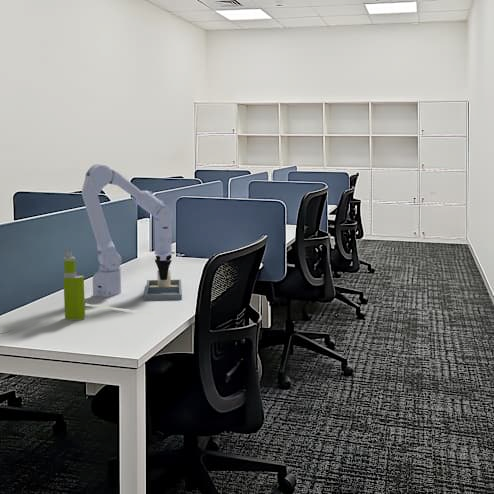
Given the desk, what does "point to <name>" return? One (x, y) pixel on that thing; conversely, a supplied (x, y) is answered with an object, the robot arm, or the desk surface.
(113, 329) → the desk surface
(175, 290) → the tray
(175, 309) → the desk surface
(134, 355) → the desk surface
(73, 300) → the vape
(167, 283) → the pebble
